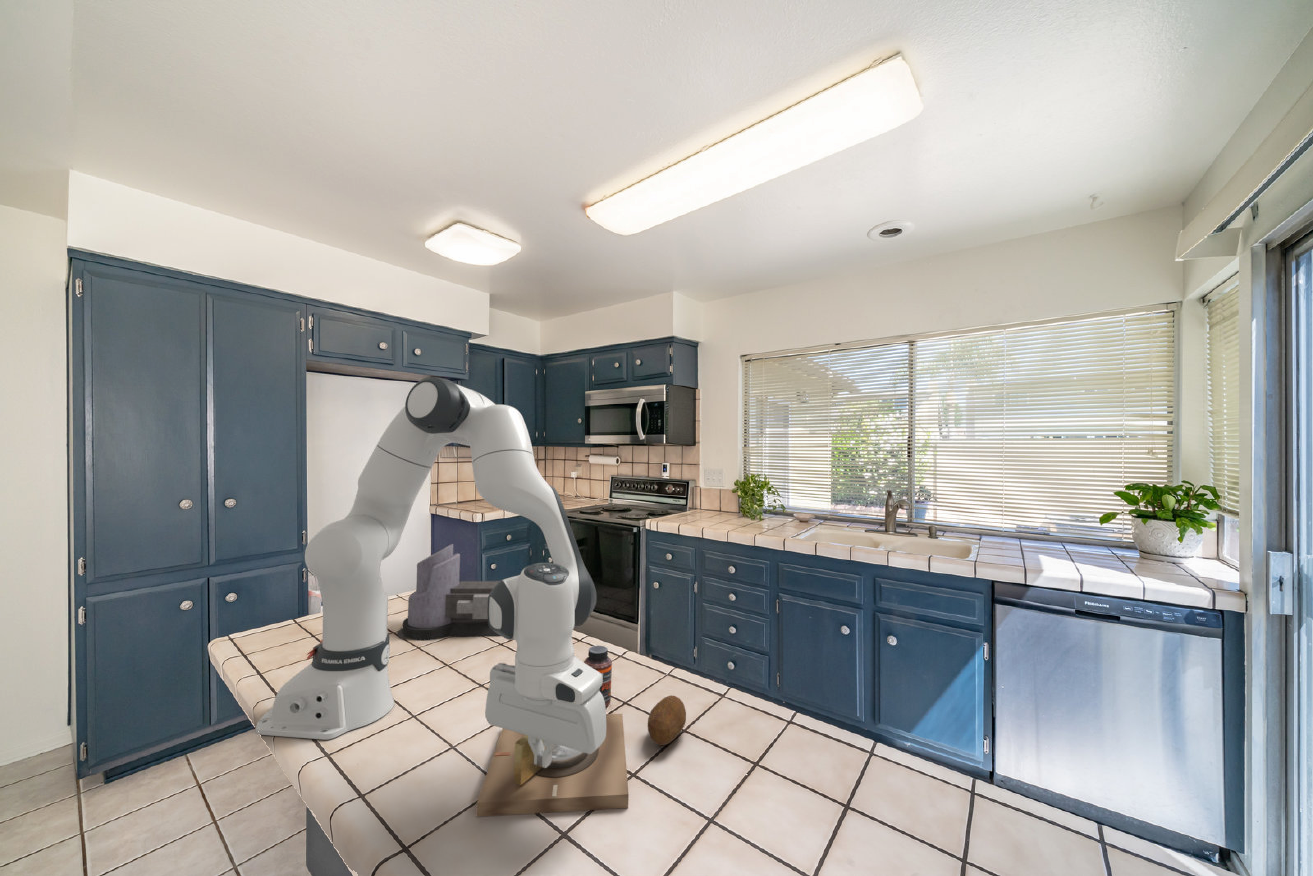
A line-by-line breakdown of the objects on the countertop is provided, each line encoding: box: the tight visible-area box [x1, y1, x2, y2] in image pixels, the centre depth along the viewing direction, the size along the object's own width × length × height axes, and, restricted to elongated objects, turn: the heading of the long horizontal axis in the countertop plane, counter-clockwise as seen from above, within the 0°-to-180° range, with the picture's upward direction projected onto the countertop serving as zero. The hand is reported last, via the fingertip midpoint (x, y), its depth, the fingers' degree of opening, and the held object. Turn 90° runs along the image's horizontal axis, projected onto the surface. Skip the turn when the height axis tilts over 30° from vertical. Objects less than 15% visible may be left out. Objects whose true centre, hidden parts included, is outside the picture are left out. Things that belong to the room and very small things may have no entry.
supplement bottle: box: [583, 645, 613, 708], centre depth 103 cm, size 6×6×11 cm
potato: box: [647, 695, 687, 746], centre depth 91 cm, size 7×12×7 cm, turn 165°
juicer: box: [396, 543, 501, 641], centre depth 141 cm, size 30×16×24 cm, turn 95°
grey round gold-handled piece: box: [514, 735, 587, 785], centre depth 81 cm, size 15×10×6 cm, turn 151°
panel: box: [475, 713, 630, 818], centre depth 83 cm, size 22×22×2 cm
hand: (542, 764), depth 75 cm, fingers closed
